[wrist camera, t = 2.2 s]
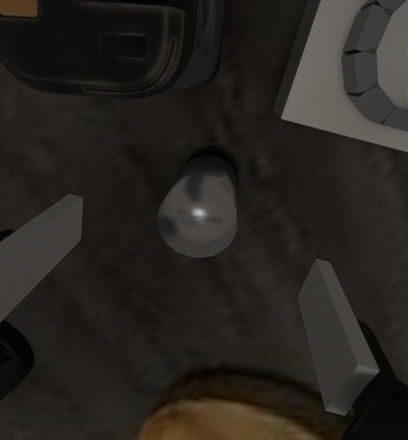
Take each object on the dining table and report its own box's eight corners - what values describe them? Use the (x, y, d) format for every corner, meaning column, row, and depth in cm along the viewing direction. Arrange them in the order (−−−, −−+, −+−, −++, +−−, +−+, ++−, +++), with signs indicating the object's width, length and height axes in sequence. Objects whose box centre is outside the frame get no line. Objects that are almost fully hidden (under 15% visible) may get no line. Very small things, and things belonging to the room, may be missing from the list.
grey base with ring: (272, 110, 27) (287, 125, 19) (326, -59, 22) (380, -141, 14) (420, 148, 27) (499, 180, 19) (510, -10, 22) (674, -61, 14)
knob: (181, 188, 31) (151, 247, 21) (191, 138, 29) (164, 176, 18) (229, 201, 31) (225, 266, 21) (244, 152, 29) (247, 197, 18)
